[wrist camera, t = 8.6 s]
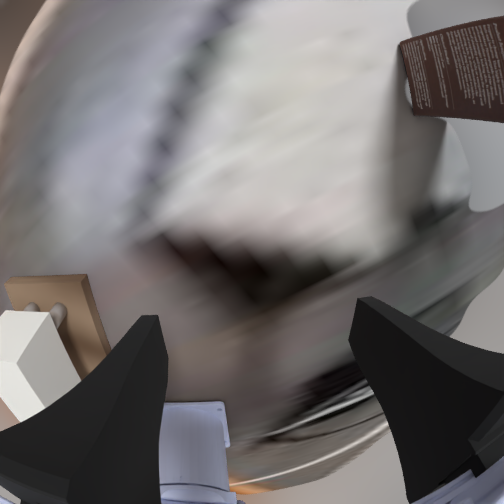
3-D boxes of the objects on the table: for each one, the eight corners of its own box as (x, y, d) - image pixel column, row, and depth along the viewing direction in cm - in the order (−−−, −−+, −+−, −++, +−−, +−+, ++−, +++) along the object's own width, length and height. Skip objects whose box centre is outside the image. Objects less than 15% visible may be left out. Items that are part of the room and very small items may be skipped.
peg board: (127, 387, 23) (120, 417, 19) (58, 380, 22) (47, 407, 19) (86, 274, 18) (66, 301, 15) (11, 277, 17) (-12, 300, 14)
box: (451, 116, 17) (578, 140, 6) (411, 116, 16) (557, 136, 6) (438, 46, 14) (561, 35, 3) (396, 39, 14) (531, 7, 3)
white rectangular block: (97, 408, 19) (85, 455, 14) (56, 402, 18) (40, 444, 14) (49, 312, 15) (16, 363, 10) (5, 310, 14) (-28, 353, 10)
